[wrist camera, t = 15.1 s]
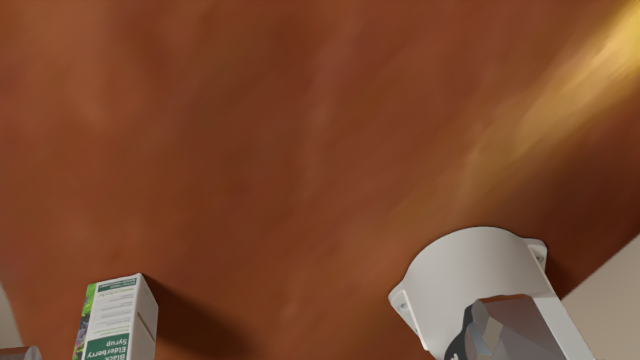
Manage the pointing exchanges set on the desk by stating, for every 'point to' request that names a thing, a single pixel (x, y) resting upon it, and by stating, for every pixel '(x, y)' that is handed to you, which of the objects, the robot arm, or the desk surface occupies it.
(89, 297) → the syrup box
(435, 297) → the robot arm
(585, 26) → the desk surface
